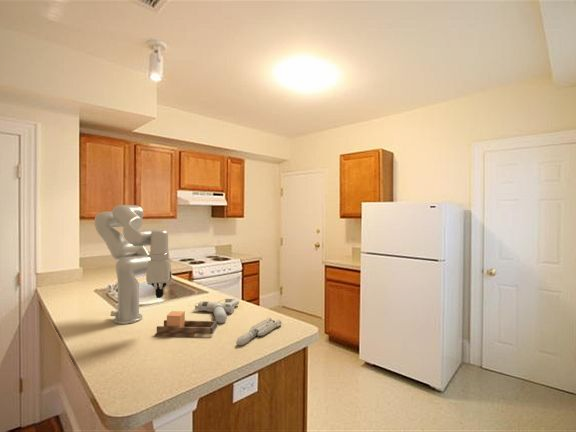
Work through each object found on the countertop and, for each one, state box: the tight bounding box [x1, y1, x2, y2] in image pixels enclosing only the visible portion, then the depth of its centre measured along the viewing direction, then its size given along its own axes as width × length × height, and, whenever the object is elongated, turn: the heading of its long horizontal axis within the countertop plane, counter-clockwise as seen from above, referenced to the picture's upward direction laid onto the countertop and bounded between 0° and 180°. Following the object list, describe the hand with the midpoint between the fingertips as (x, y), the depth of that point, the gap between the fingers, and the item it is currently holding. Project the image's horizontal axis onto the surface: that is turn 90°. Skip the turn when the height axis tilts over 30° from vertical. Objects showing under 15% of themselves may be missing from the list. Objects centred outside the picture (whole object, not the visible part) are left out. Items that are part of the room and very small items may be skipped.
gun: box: [187, 298, 240, 324], centre depth 168 cm, size 6×29×30 cm
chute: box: [154, 319, 219, 338], centre depth 141 cm, size 25×12×4 cm, turn 89°
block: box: [166, 310, 186, 327], centre depth 141 cm, size 6×6×7 cm
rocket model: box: [235, 317, 282, 346], centre depth 140 cm, size 9×4×30 cm
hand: (159, 297), depth 141 cm, fingers closed
